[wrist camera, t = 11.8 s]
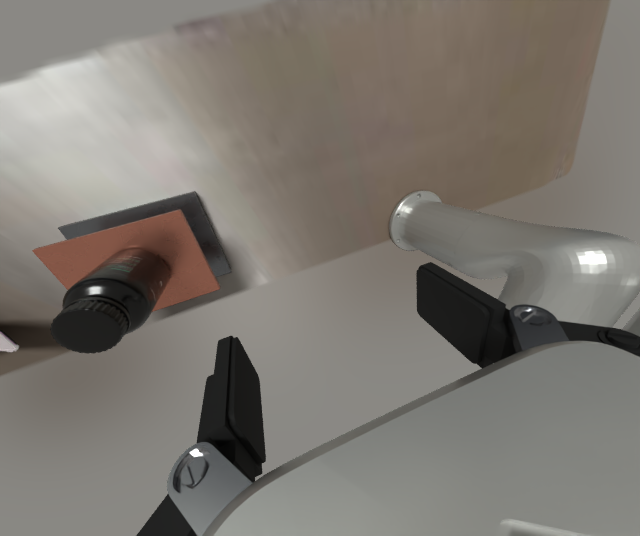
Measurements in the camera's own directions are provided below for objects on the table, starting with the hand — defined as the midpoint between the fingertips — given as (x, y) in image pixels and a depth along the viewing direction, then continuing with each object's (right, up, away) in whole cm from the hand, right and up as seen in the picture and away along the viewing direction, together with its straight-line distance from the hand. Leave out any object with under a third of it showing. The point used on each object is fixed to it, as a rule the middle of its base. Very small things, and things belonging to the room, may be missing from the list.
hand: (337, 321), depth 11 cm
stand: (-27, +5, +26) cm, 38 cm away
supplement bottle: (-24, +2, +19) cm, 31 cm away
